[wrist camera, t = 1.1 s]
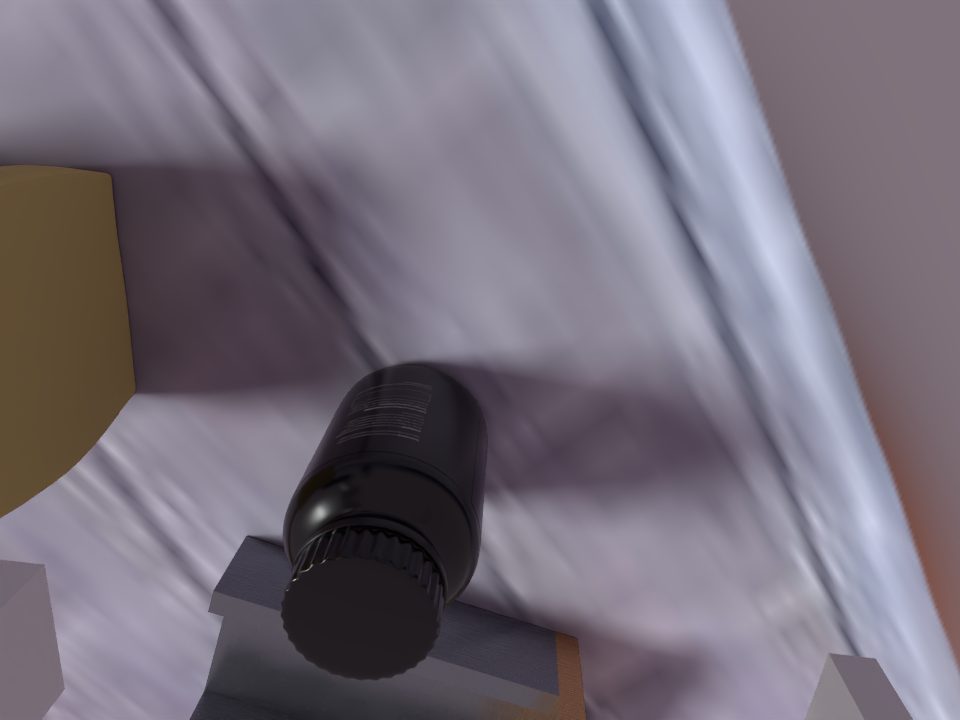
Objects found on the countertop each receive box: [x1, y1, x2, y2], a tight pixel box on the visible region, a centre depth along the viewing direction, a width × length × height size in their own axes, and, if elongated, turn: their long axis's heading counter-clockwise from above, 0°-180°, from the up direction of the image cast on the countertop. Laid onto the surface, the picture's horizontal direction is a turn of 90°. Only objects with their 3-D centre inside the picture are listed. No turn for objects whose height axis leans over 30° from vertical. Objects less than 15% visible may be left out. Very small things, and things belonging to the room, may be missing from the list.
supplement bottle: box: [280, 365, 487, 681], centre depth 26 cm, size 7×7×12 cm
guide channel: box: [190, 536, 586, 720], centre depth 34 cm, size 17×11×6 cm, turn 71°
